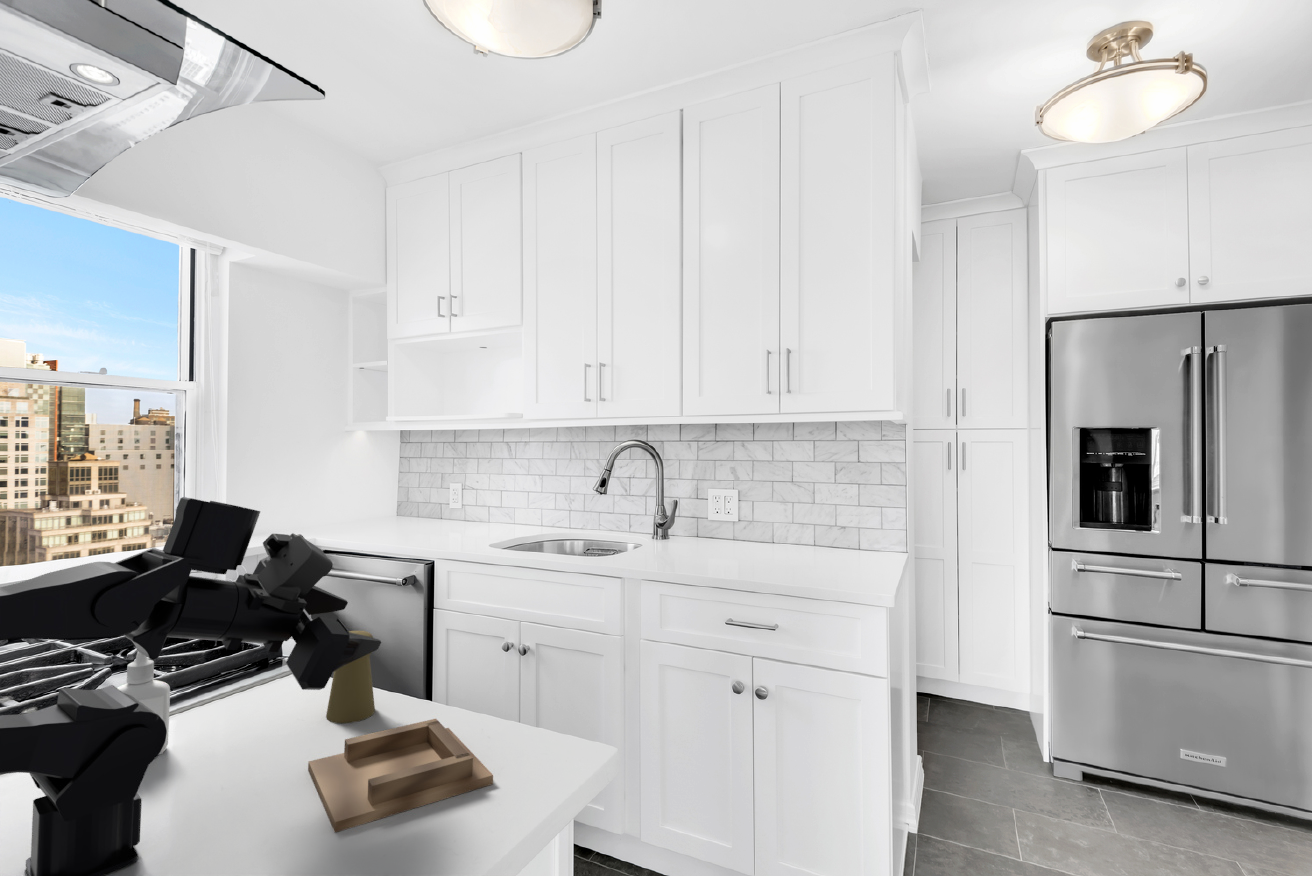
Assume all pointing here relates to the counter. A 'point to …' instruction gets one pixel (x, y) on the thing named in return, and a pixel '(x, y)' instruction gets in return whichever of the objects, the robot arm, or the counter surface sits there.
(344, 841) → the counter surface
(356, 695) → the olive pepper mill
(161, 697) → the eye dropper bottle
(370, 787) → the seat
